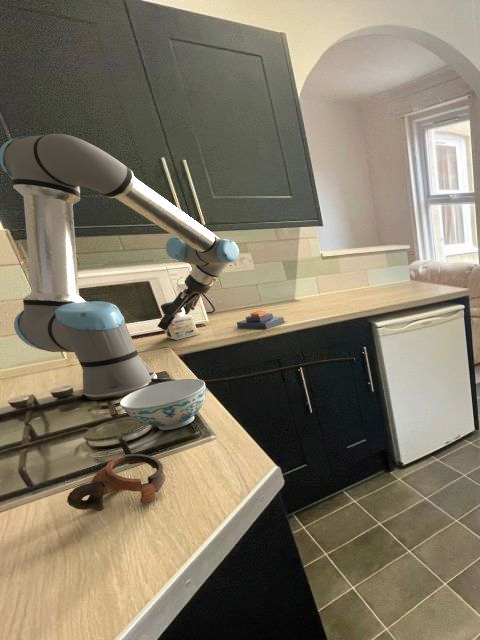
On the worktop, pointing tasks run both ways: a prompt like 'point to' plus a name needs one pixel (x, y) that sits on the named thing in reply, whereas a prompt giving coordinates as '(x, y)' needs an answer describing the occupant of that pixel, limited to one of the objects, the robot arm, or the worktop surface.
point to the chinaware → (166, 403)
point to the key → (258, 313)
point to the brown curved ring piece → (117, 483)
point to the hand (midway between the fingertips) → (169, 324)
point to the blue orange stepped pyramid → (260, 322)
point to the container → (180, 324)
